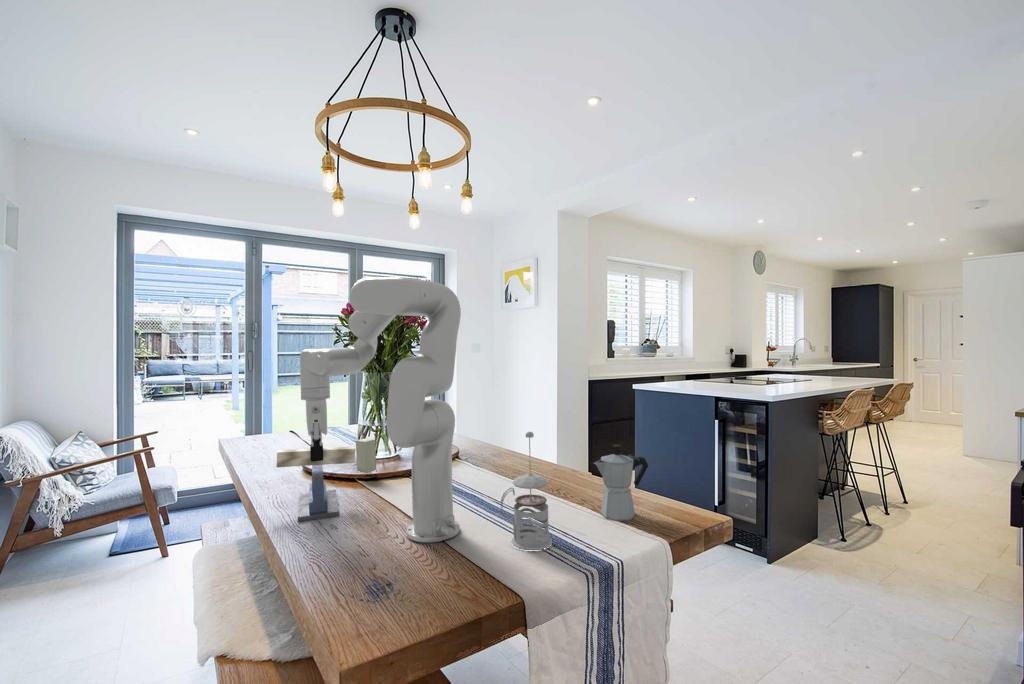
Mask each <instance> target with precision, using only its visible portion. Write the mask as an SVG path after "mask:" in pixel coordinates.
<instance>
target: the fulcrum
mask: <svg viewBox="0 0 1024 684" xmlns="http://www.w3.org/2000/svg"><path fill="white" fill-rule="evenodd" d="M323 467H324V466H323V465H311V483H309V492H308V493H301V494H299V496H298V507H297V508H298V509H297V523H300V522H301V521H302V522H306V521H307V522H308V521H313V520H319V519H320V520H321V519H327V518H328V519H329V518H334V517H339V516H340V509H339V502H338V496H337V489H329V490H327V482H326V481H324V468H323Z"/></svg>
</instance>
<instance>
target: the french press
mask: <svg viewBox="0 0 1024 684" xmlns="http://www.w3.org/2000/svg"><path fill="white" fill-rule="evenodd" d="M525 438H528V441H529V442H528V443H529V445H528V447H529V448H528V449H529V452H528V453H529V457H531V438H534V433H533V432H532V431H527V432H525ZM531 466H532V465H531V461H529V473H526V474H522V475H519V476H517V477H516V478H514V479H513V480H512V485H514V486H515V487H516V488H519V489H526V490H527V489H528V490H529V493H528V494H522V495H521V494H520V495H518V496H517V497H515V498H514V502H515V504H514V505H513V518H514V519H513V518H511V517H510V516H508V515H507V514H506V513H505V511H504V506H503V503H504V499H505V498H506V497H507V496H508V494H509V493H511V492H512V495H513V496H515V495H516V494H515V489H514V487H509V488H508V489H506V490H505V491H504V492H503V495H502V496H501V500H500V508H501V512H502V513H501V514H502V515H503V517H504V518H505V519H506V520H507V521H509V522H510V523H512V525H513V537H512V538H511V539H512V541H511V540H510V541H511V543H512V544H513V546H515V547H517V548H519V549H523V550H540V549H544V548H546V547H549V546H550V545H551V544H552V540H553V539H552V538H551V537H550V535H549V533H550V532H549V505H548V504H547V501H548V499H547V498H546V497H545V496H544V495H540V494H534V493H533V494H532V490H533V489H540V488H541V489H542V488H545V487H546V486H548V484H549V480H548V479H546V478H545V477H544V476H542V475H539V474H535V473H531V470H532V469H531ZM522 507H524V508H522ZM520 508H521V509H520ZM532 508H534V509H535V510H537V511H535V510H533V509H532ZM523 518H524V519H523ZM521 519H522V520H521ZM532 519H533V520H532ZM534 520H535V521H534ZM533 525H534V526H533ZM536 526H537V527H536ZM540 528H541V529H540Z"/></svg>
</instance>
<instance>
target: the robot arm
mask: <svg viewBox="0 0 1024 684" xmlns="http://www.w3.org/2000/svg"><path fill="white" fill-rule="evenodd" d="M348 299H349V304H350V306H351V307H352V308H353V310H354V312H353V313H352V314H351V315H350V316H349V318H348V321H347V323H348V328H349V330H350V332H351V333H352V334H353V335H354V336H355V337H357V338H358V339H356V341H355V342H354V343H353V344H352V345H351V346H350V347H334V348H331V347H330V348H308V349H303V350H301V352H300V354H299V369H300V371H299V372H300V373H299V374H300V378H299V379H300V400H301V401H305V416H306V417H305V418H306V427H307V434H308V436H309V437H310V439H311V440H310V441H311V442H310V443H311V444H310V447H309V449H310V453H311V462H314V461H322V460H323V448H324V444H323V435H325V436H326V435H328V407H327V400H328V399H330V398H331V387H330V385H331V382H330V381H331V380H330V377H338V376H345V375H355V374H357V373H359V372H360V371H362V369H364V368H365V367H366V366H367V365H368V364H369V363H370V362H371V361H372V360H373V358H374V357H375V355H376V353H377V349H378V337H379V336H380V334H381V333H382V332H383V331H384V330H385V329H386V328H387V326H389V325H390V323H391V322H392V321H393V320H394V319H395V318H396V317H397V316H402V317H403V316H405V317H406V316H409V317H427V322H426V323H425V325H424V327H423V329H422V331H421V335H420V337H419V338H420V340H419V349H418V355H415V356H408V357H404V358H402V359H401V360H399V361H398V362H397V363H396V364H395V366H394V367H393V369H392V371H391V374H390V377H389V386H388V397H387V406H386V407H387V408H386V421H385V422H386V432H387V436H388V438H389V440H390V441H391V443H392V444H393V445H395V447H398V448H402V449H409V448H413V451H412V452H411V453H412V455H411V495H412V496H411V499H412V500H411V503H412V522H411V524H409V525H408V526H407V528H406V530H405V532H406V533H405V534H406V537H407V538H408V539H409V540H411V541H414V542H418V543H431V544H432V543H439V542H443V540H444V541H447V540H450V539H453V538H454V537H455V536H457V535H458V534H459V532H460V531H461V528H460V527H461V526H460V523H459V522H458V521H457V520H455V519H456V518H455V515H454V509H453V508H454V505H453V504H454V503H453V502H454V501H453V500H454V498H453V496H454V495H453V439H454V435H455V428H456V416H455V415H456V414H455V413H454V410H453V408H452V406H451V405H450V404H449V403H447V401H444V400H442V399H435V398H432V399H426V398H429V397H434V396H438V395H443V394H445V393H447V392H448V391H449V390H450V389H451V388H452V385H453V381H454V375H455V374H454V373H455V365H456V354H457V344H458V343H457V341H458V334H459V328H460V324H461V323H460V322H461V317H462V316H461V315H462V314H461V313H462V312H461V311H462V309H461V303H460V301H459V299H458V296H457V295H456V294H455V292H454V291H453V290H452V289H451V288H449V287H448V286H446V285H445V284H442V283H439V282H436V281H430V280H424V279H416V278H407V277H396V276H395V277H365V278H361V279H358V280H357V282H355V283H354V285H352V287H351V290H350V291H349V298H348ZM456 534H457V535H456ZM449 538H450V539H449ZM446 539H447V540H446Z"/></svg>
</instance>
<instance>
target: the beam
mask: <svg viewBox="0 0 1024 684" xmlns="http://www.w3.org/2000/svg"><path fill="white" fill-rule="evenodd" d="M355 459H356V446H339V447H337V446H336V447H323V460H322V461H314V462H311V453H310V448H296V449H277V452H276V468H290V467H292V468H293V467H305V466H307V467H308V466H312V465H324V466H327V465H339V464H344V465H345V464H353V463H354V464H355V462H356V460H355Z"/></svg>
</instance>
